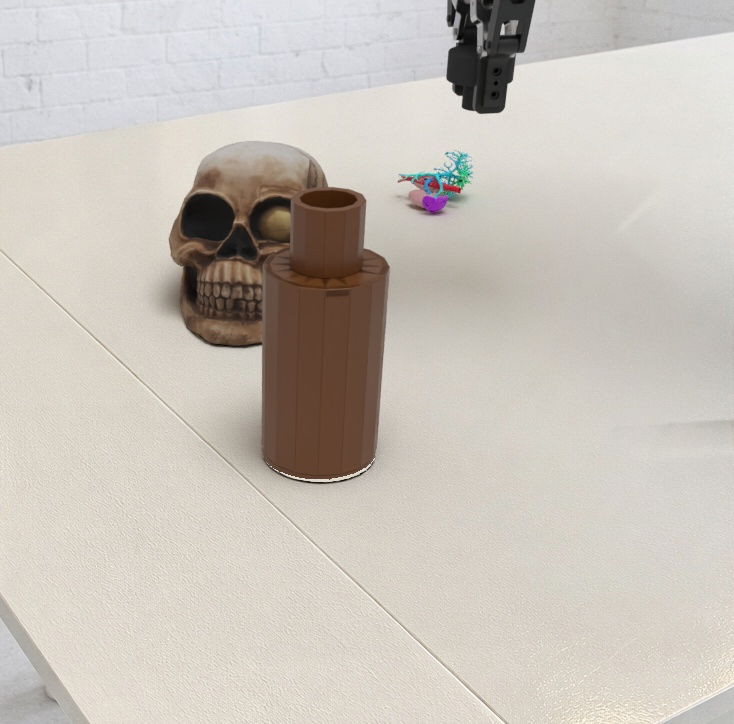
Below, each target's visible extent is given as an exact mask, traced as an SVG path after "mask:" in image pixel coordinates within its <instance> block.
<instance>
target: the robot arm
mask: <svg viewBox="0 0 734 724" xmlns="http://www.w3.org/2000/svg"><path fill="white" fill-rule="evenodd" d="M446 2H447V3H446V18H445V19H446V23H447V27H448V28H452V30H451V35H452V39H453V41H455V47H456V46H460V45H468V44H477V54H478V58H477V64H476V74H475V84H474V94H473V105H472V106H473V109H474V110H475V111H474V112H476V114H478V115H486V114H487V115H490V114H491V115H492V114H500V113H502V112H503V111H504V110H505V108H506V103H507V94H508V85H509V84H508V77H509V68H510V59H511V57H514V56H515V54H516V55H517V54H524V53H525V51H526V47H527V43H528V38H529V34H530V29H531V24H532V20H533V19H532V18H533V14H534V9H535V5H536V0H447V1H446ZM503 25H504V26H503ZM502 27H504V34H501V33H502ZM456 41H457V42H456ZM451 84H452V85H451V89H452V92H453V93H454V94H455V95H456V96H458V97H463V86H461V85H457V84H453V83H451Z"/></svg>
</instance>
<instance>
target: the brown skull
mask: <svg viewBox="0 0 734 724" xmlns="http://www.w3.org/2000/svg"><path fill="white" fill-rule="evenodd" d="M319 187H329V183H328V179H327V178H326V175H325V172H324V169H323V167H322V166H321V164H320V163H319V162H318V161H317V160H316V158H314V156H313V155H311V154H310V153H308V152H307V151H305V150H303V149H301V148H300V147H296V146H293V145H290V144H287V143H282V142H276V141H275V142H274V141H264V140H245V141H237V142H234V143H229V144H227V145H224V146H222V147H219V148H218V149H216V150H214V151H212V152H211V153H209V154H207V155H206V156H205V157H203V159H202V160H201V161H200V163H199V165H198V167H197V169H196V174H195V177H194V180H193V184H192V187H191V189H190V190H189V191H188V193H187V194H186V195H185V197H184V198H183V201H182V204H181V206H180V208H179V209H180V210H179V213H177V215H176V218H175V219H174V221H173V224H172V227H171V229H170V233H169V236H168V244H169V250H170V257H171V259H172V261H173V262H174V264H177V265H178V266H180V267H182V275H181V279H180V280H181V284H180V285H181V286H180V294H179V295H180V296H179V304H180V308H181V313H182V317H183V318H184V322H185V326H186V328H187V329H189V330H190V331H191V332H192V333H195V334H197V335H199V336H201V337H202V338H203V340H205V341H207V342H208V343H210V344H214V345H225V346H232V347H234V346H237V347H238V346H246V345H247V346H248V345H252V344H262V288H263V263H264V262H265V260H266V259H267V257H268V256H269V255H270V254H272V253H275V252H277V251H279V250H281V249H283V248H287V247H290V224H291V197H292V196H293V195H295V194H296V193H297V192H299V191H303V190H306V189H310V188H319Z"/></svg>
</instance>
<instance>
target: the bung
mask: <svg viewBox="0 0 734 724" xmlns="http://www.w3.org/2000/svg"><path fill="white" fill-rule="evenodd" d="M516 57H517V53H516V54H515V56H514V57H511V59H510V68H509V77H508V85H509V84H511V83H512V82H513V81H514V73H515V66H516ZM477 58H478V54H477V44H468V45H460V46H456V45H455V46H453V47H450V48H449V49H448V53H447V63H446V76H445V78H446V81H447V82H449V83H451V84H452V83H453V84H457V85H461V86H463V96H461V97H462V98H461V109H463V110H466V111H470V112H476V111H475V110H474V109H473V106H472V105H473V94H474V84H475V74H476V64H477Z"/></svg>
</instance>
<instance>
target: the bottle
mask: <svg viewBox="0 0 734 724" xmlns="http://www.w3.org/2000/svg"><path fill="white" fill-rule="evenodd" d="M366 215H367V199H366V197H365V196H364V194H362V193H361V192H358V191H356V190H353V189H351V188H343V187H335V186H328V187H319V188H310V189H306V190H303V191H299V192H297V193H296V194H295V195H293V196H292V197H291V224H290V247H287V248H283V249H281V250H279V251H277V252H275V253H272V254H270V255H269V256H268V257H267V259H266V260H265V262H264V263H263V288H262V343H261V447H262V448H261V449H262V450H261V451H262V453H263V454H262V458H263V457H264V458H263V460H264V459H265V460H264V462H265V461H266V462H267V463H268V464H269V465H270V466H272V468H274V469H276V470H278V471H279V472H283V473H285V474H288V475H291V476H295V477H299V478H305V479H329V480H330V479H332V478H338V477H343V476H347V475H350V474H354V473H356V472H358V471H360V470H362V469H363V468H366V467H367V466H368V465H369V464H371V462H372V461H373V459H374V458H375V459H376V455H375V454H377V453H376V452H377V448H378V440H379V439H378V437H379V425H380V424H379V423H380V409H381V399H382V398H381V396H382V381H383V369H384V368H383V367H384V355H385V342H386V329H387V328H386V326H387V313H388V300H389V286H390V273H391V266H390V265H389V262H388V261H387V260H386V258H385V257H384V256H382V255H380V254H379V253H377V252H375V251H373V250H371V249H370V248H369V249H368V248H365V234H366V233H365V232H366ZM266 462H265V463H266ZM267 463H266V464H267Z"/></svg>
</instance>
